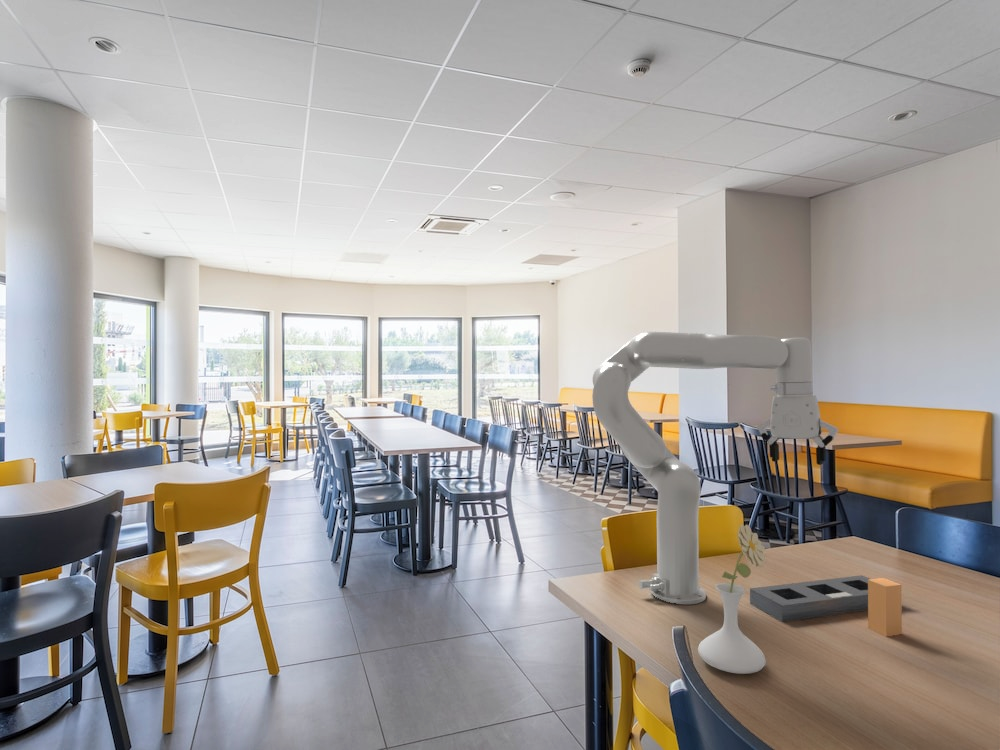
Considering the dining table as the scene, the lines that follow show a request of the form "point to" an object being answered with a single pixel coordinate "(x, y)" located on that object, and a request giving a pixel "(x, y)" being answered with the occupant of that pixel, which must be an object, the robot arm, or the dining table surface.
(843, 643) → the dining table surface
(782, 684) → the dining table surface
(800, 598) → the peg board
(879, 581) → the square peg
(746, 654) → the flower in vase
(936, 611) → the dining table surface
